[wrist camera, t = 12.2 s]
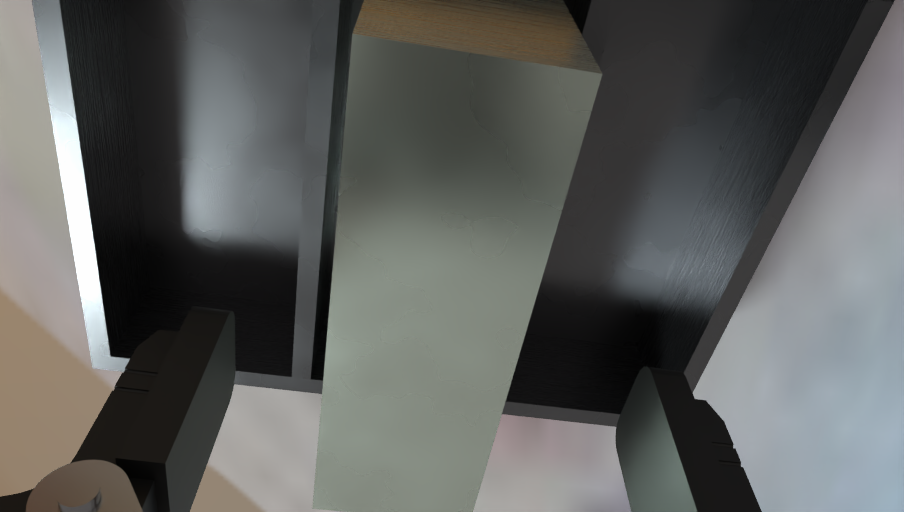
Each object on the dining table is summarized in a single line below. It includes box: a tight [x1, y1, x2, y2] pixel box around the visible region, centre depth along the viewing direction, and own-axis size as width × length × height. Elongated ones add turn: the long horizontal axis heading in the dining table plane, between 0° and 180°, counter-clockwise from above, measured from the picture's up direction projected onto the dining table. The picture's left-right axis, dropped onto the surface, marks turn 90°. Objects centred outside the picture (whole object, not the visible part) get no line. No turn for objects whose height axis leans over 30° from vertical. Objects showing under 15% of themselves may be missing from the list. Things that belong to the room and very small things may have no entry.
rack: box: [32, 0, 894, 427], centre depth 20 cm, size 19×16×4 cm
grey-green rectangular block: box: [312, 0, 602, 512], centre depth 18 cm, size 4×12×9 cm, turn 171°
